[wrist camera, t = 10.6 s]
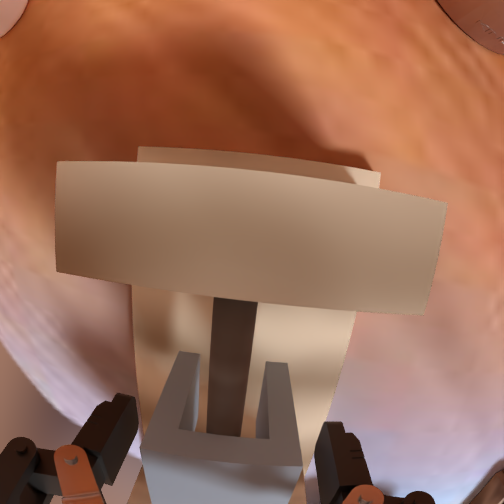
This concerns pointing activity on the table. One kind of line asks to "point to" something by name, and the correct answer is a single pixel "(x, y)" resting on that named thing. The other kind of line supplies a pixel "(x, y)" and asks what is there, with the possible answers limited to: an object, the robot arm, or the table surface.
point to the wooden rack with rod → (245, 271)
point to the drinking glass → (10, 13)
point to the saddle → (221, 445)
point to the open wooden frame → (492, 491)
